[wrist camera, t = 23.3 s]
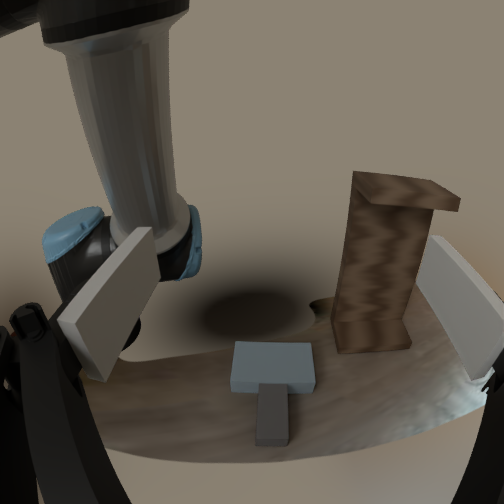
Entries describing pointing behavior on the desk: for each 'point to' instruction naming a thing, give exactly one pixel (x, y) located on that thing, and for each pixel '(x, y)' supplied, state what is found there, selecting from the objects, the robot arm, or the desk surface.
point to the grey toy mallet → (272, 383)
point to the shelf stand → (382, 258)
